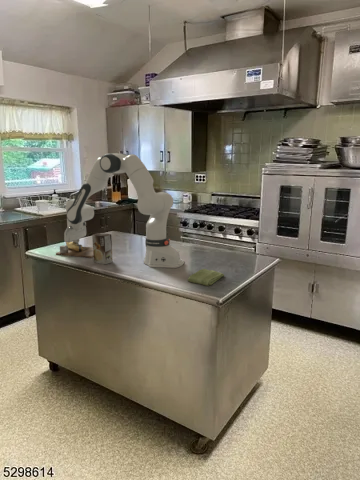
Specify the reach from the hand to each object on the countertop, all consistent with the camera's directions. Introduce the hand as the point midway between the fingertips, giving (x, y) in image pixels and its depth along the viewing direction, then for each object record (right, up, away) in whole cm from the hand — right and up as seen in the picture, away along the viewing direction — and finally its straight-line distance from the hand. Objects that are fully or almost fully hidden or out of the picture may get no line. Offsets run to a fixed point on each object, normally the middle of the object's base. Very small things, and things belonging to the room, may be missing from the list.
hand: (76, 246), depth 227 cm
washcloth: (+79, -16, -51) cm, 95 cm away
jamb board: (+5, -4, -7) cm, 9 cm away
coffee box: (+23, -9, -26) cm, 35 cm away
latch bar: (0, -2, -5) cm, 5 cm away
